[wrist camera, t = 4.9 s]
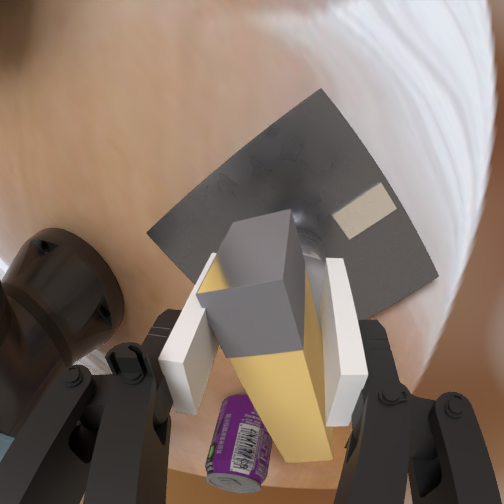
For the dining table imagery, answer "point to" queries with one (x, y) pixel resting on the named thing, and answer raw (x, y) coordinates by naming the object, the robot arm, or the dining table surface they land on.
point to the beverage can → (238, 448)
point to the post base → (307, 206)
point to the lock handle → (273, 329)
